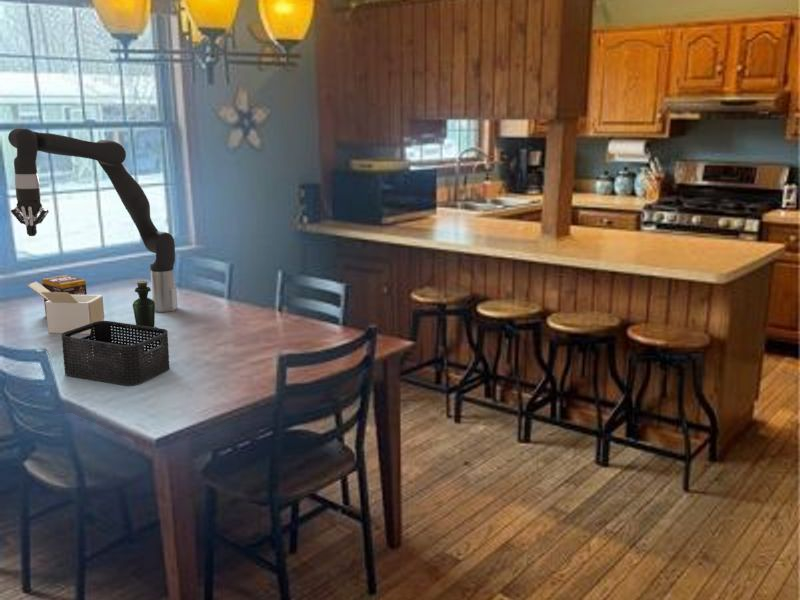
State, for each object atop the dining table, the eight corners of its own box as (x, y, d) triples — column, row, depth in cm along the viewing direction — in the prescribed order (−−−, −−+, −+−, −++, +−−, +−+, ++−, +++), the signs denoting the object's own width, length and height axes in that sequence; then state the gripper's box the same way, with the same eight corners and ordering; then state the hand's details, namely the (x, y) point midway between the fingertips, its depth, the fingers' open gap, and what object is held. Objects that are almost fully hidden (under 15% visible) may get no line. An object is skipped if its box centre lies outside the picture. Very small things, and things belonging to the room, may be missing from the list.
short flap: (36, 281, 272) (35, 282, 272) (27, 284, 266) (27, 285, 267) (55, 295, 273) (55, 296, 273) (47, 299, 268) (47, 300, 268)
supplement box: (65, 322, 282) (61, 284, 278) (45, 316, 291) (41, 278, 287) (89, 317, 290) (86, 279, 286) (69, 311, 299) (66, 274, 295)
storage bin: (174, 368, 232) (172, 328, 229) (134, 388, 215) (131, 345, 211) (103, 357, 242) (100, 319, 238) (59, 375, 224) (55, 335, 221)
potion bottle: (134, 331, 271) (131, 285, 267) (134, 325, 279) (130, 280, 274) (157, 329, 274) (154, 283, 270) (155, 323, 282) (152, 279, 277)
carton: (106, 324, 279) (103, 294, 277) (92, 333, 267) (89, 302, 264) (64, 323, 280) (61, 294, 277) (48, 332, 268) (45, 301, 265)
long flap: (67, 292, 256) (67, 293, 256) (78, 302, 264) (78, 303, 264) (41, 291, 256) (41, 292, 256) (52, 301, 264) (52, 302, 264)
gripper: (2, 187, 247) (8, 236, 251) (40, 188, 247) (44, 237, 251) (15, 185, 254) (19, 233, 258) (51, 186, 254) (55, 234, 258)
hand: (32, 235), depth 254 cm, fingers closed
